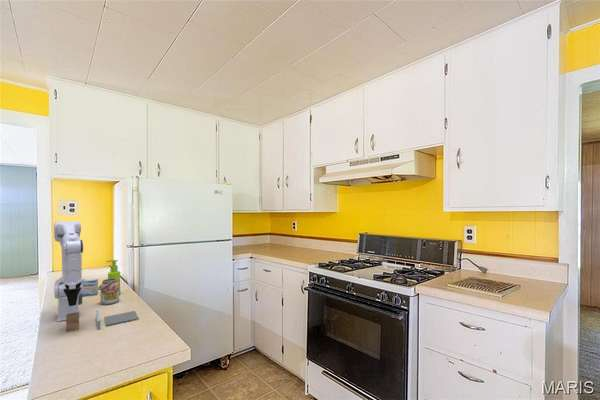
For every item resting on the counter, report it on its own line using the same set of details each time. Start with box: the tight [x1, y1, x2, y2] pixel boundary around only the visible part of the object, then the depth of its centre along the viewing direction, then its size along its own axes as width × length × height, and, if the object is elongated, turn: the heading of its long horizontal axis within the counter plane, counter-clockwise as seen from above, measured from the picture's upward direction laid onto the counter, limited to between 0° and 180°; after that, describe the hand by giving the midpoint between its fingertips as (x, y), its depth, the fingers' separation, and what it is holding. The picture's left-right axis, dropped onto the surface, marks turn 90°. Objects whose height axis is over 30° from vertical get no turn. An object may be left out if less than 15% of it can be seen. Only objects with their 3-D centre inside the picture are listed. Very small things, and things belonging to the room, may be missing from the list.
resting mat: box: [103, 310, 139, 327], centre depth 129 cm, size 12×12×1 cm
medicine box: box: [82, 278, 99, 298], centre depth 168 cm, size 8×4×9 cm, turn 118°
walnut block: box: [65, 312, 80, 333], centre depth 119 cm, size 4×4×6 cm
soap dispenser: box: [105, 259, 121, 296], centre depth 166 cm, size 6×7×20 cm
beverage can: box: [98, 278, 120, 306], centre depth 152 cm, size 9×8×12 cm
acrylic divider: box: [95, 309, 101, 331], centre depth 124 cm, size 16×1×4 cm, turn 36°
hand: (72, 303), depth 119 cm, fingers open, 7 cm apart
